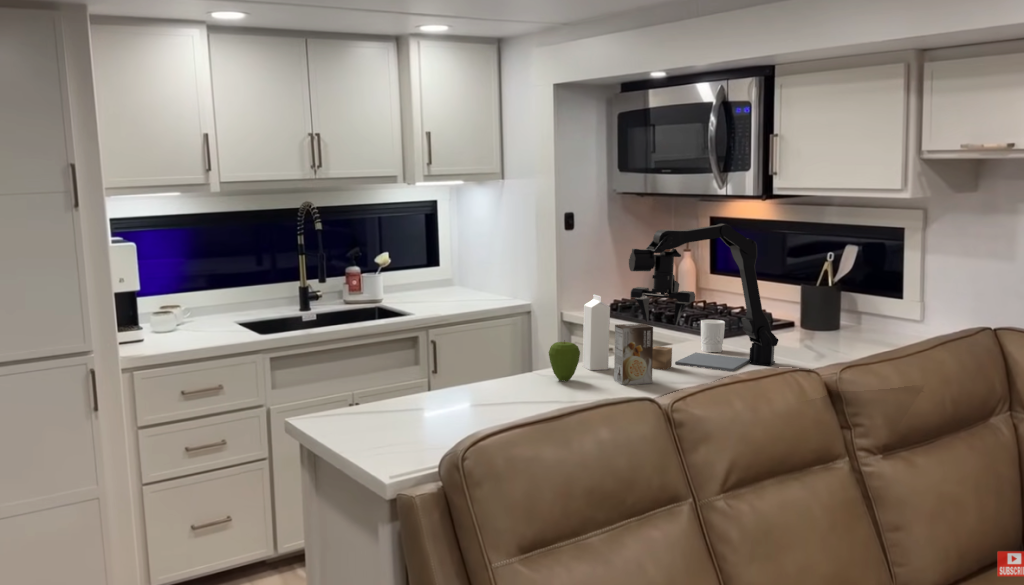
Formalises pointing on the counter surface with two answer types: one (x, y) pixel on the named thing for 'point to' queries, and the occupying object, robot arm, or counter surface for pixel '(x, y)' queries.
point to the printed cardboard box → (633, 354)
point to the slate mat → (713, 361)
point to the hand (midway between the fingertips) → (661, 322)
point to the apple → (564, 359)
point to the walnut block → (662, 357)
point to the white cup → (712, 335)
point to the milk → (596, 334)
